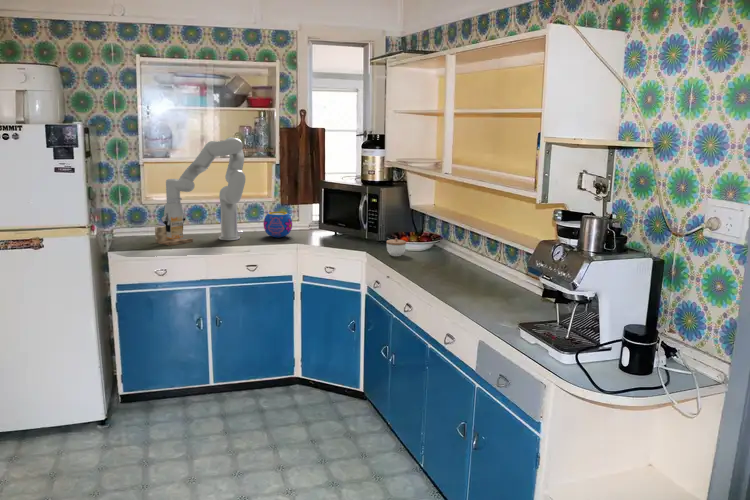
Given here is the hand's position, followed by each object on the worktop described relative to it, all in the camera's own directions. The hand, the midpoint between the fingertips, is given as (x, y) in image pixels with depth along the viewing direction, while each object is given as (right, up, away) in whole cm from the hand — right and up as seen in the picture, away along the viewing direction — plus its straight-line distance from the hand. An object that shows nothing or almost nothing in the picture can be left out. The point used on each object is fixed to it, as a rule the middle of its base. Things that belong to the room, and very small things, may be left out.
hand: (174, 230), depth 373 cm
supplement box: (0, -4, +1) cm, 5 cm away
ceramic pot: (+56, -3, +26) cm, 62 cm away
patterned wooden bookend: (-1, -7, +2) cm, 7 cm away
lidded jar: (+127, -14, -16) cm, 129 cm away
